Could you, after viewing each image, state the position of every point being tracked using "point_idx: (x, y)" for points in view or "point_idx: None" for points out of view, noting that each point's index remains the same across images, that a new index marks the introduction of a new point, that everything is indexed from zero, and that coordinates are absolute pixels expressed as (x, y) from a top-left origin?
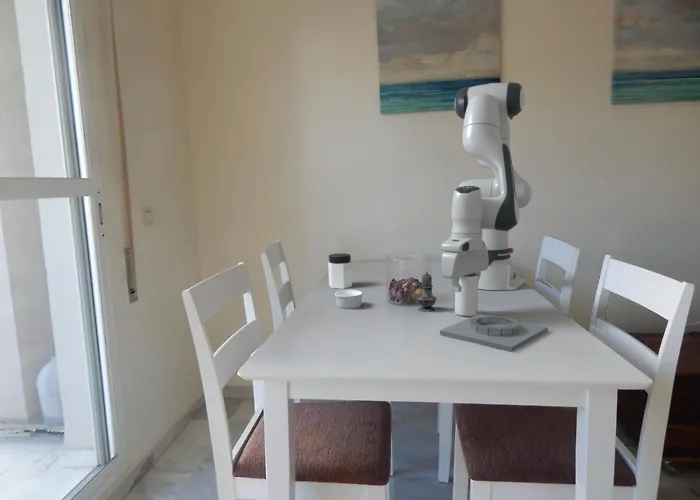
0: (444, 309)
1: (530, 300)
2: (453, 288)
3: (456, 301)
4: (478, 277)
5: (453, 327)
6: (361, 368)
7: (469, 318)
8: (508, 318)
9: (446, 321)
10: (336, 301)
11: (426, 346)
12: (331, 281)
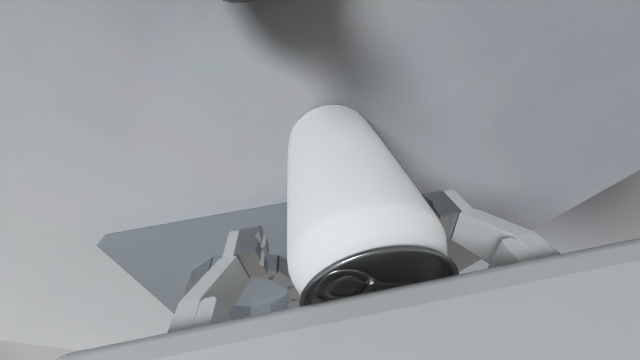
0: (320, 22)
1: (606, 165)
2: (225, 245)
3: (289, 162)
4: (478, 255)
5: (154, 247)
6: None
7: (260, 218)
8: (298, 299)
9: (201, 163)
10: None
11: (26, 268)
12: None
